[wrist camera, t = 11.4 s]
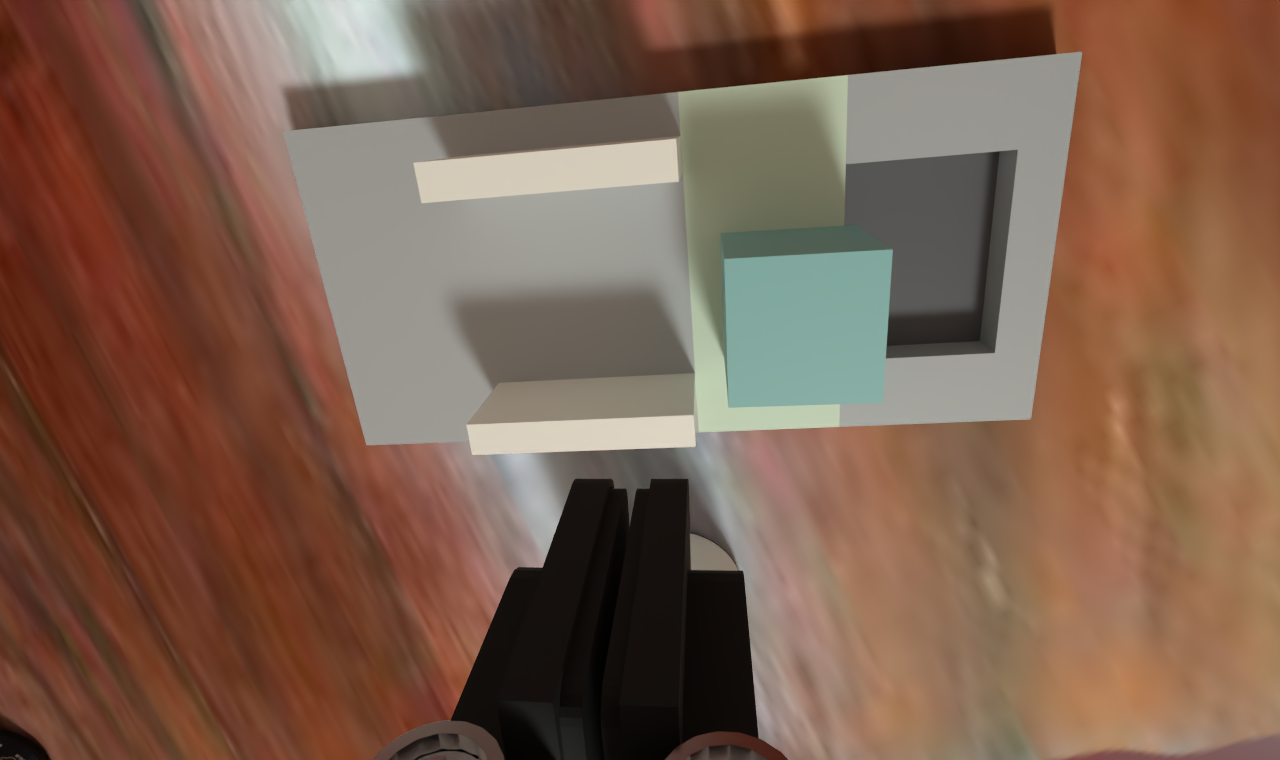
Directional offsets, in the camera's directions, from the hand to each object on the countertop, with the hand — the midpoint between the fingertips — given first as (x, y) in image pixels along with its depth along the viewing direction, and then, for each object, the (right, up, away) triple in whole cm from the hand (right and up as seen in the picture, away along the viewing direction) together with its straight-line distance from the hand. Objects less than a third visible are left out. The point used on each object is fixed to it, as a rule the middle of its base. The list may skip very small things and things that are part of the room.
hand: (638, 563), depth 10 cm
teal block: (+7, +7, +21) cm, 23 cm away
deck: (+2, +8, +23) cm, 24 cm away
